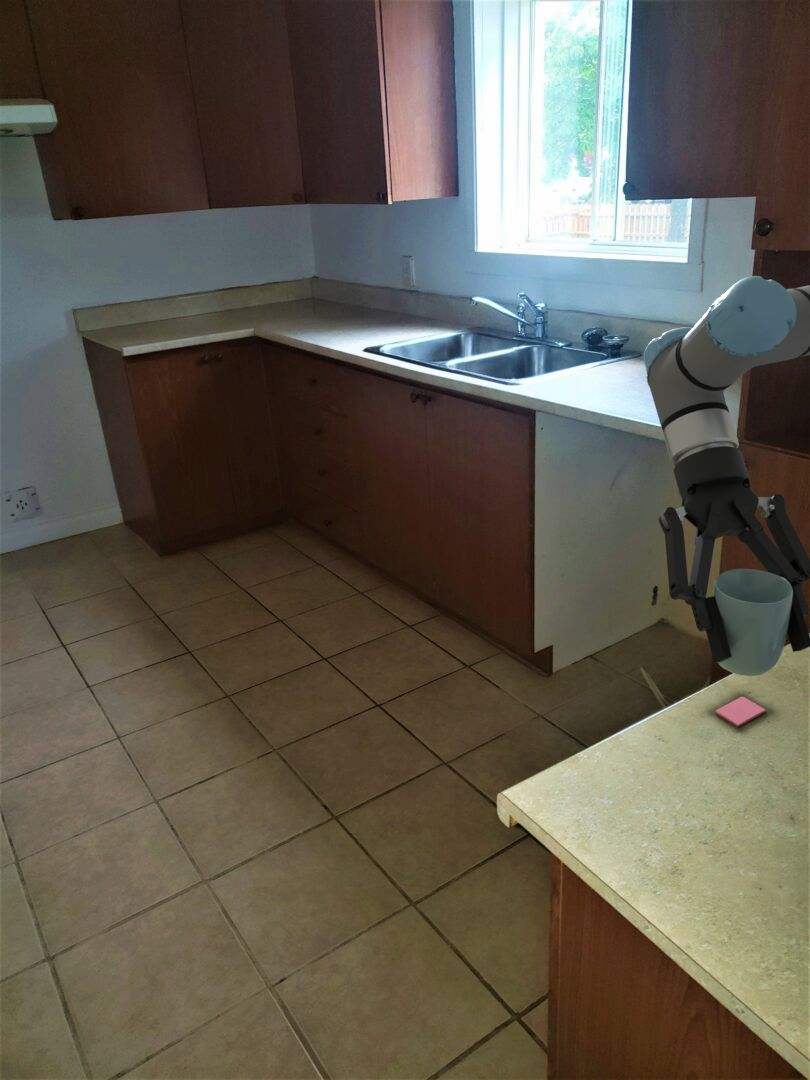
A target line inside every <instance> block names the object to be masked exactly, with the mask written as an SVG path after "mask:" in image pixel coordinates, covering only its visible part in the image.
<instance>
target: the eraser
mask: <svg viewBox="0 0 810 1080" xmlns="http://www.w3.org/2000/svg"><path fill="white" fill-rule="evenodd" d="M766 710H767V709H766V708H763V706H760V705H758V704H757V703H755V702H753V701H751V700H750V699H748V698H746V697H744V696H740V697H738V698H737V699H734V700H733V701H731V702H729V703H728V704H726V705H724V706H722V707H719V708H718V709H716V710H715V711H714V714H716V715H718V716H719V717H721V718H723V719H724V720H726V721H727V722H729V723H731V724H732V725H734V726H735V727H737V728H739V727H740V726H741V727H742V725H744V724H746V723H748V722H749V721H752V720H753V719H755V718H757V717H759V716H761V715H762V714H764V713H766Z"/></svg>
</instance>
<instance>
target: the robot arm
mask: <svg viewBox="0 0 810 1080" xmlns="http://www.w3.org/2000/svg"><path fill="white" fill-rule="evenodd" d="M807 356H810V285H805V286H804V285H803V286H799V287H795V288H794V287H793V288H785V287H784V286H783V285H782V284H780V282H777V281H776V280H773V279H765V278H763V277H762V276H759V275H752V276H746V277H744V278H741V279H740V280H738V281H736V282H735V283H734V284H733V285H732V286H731V287H730V288H729V289H728V290H727V291H725V292H723V293H722V294H721V295H720V297H717V299H715V301H714V302H713V303H712V304H711V306H710V307H709V308H708V310H707V311H706V312H705V313H704V314H703V315H702V316H701V317H700V319H699V320H698V321H697V322H696V323H695V324H694V325H693V327H691V326H683V327H677V328H673V329H669V330H667V331H665V332H663V333H662V335H661V336H659V337H655V338H653V339H652V340H651V341H650V342H649V343H648V344H647V345H646V347H645V350H644V353H643V362H644V367H645V372H646V382H647V386H648V387H649V391H650V393H651V397H652V401H653V403H654V407H655V411H656V413H657V417H658V421H659V424H660V427H661V431H662V435H663V438H664V442H665V445H666V449H667V453H668V456H669V457H668V458H669V460H670V464H671V465H672V466H674V468H673V475H674V479H675V483H676V486H677V490H678V493H679V496H680V497H681V506H679V507H675V508H674V507H672V506H668V507H667V508H665V510H664V511H663V512H662V513H661V514H660V515H659V516H658V523H659V525H660V527H661V531H662V532H663V534H664V540H665V541H664V542H665V552H666V553H665V554H666V565H667V579H668V591H669V597H670V598H671V599H672V600H675V601H677V600H681V601H684V602H685V604H686V605H688V606H690V607H691V610H692V614H693V618H694V622H695V626H696V629H698V631H699V632H705V633H706V637H707V641H708V644H709V648H710V651H711V655H712V660H713V663H714V664H718V663H717V662H722V661H724V660H726V659H728V658H730V657H732V656H731V652H730V648H729V645H728V641H727V638H726V634H725V630H724V627H723V623H722V620H721V616H720V612H719V609H718V605H717V602H716V598H715V596H713V597H712V596H708V597H707V592H708V586H709V580H710V575H711V568H712V560H713V554H714V550H715V549H714V547H715V544H716V543H715V542H716V539H719V538H722V537H737V539H738V540H739V541H740V542H741V543H743V544H745V545H746V546H747V547H748V549H749V550H750V552H752V553H753V555H754V556H755V557H756V559H757V560H758V561H759V562H760V564H761V565H762V566H763V567H764V569H765V571H766V572H770V573H773V574H776V575H778V576H781V577H782V578H784V579H786V580H787V581H788V582H789V583H790V584H791V586H792V589H793V600H792V607H791V614H790V620H789V626H788V631H787V636H788V640H789V642H790V646H791V651H792V652H794V653H797V652H801V651H803V650H805V649H808V648H810V633H809V630H808V626H807V623H806V620H805V617H806V616H808V615H809V607H808V603H807V601H806V597H805V594H804V591H803V583H805V582H807V581H808V580H810V557H809V555H808V552H807V551H806V549H805V547H804V545H803V543H802V542H801V540H800V538H799V535H798V533H797V532H796V529H795V528H794V526H793V524H792V522H791V520H790V518H789V516H788V514H787V510H786V503H785V498H784V496H783V495H782V494H780V493H776V494H774V495H773V496H771V497H768V496H758V494H757V493H756V492H755V491H754V490H753V489H752V487H751V484H750V475H749V472H748V468H747V465H746V462H745V459H744V456H743V452H742V451H741V450H740V449H739V445H740V443H739V438H738V435H737V433H736V429H735V427H734V424H733V420H732V417H731V415H730V409H729V406H728V405H727V401H726V397H725V394H724V393H725V391H726V390H727V389H728V388H729V387H731V386H732V385H733V384H734V383H735V382H736V381H738V380H739V379H740V378H741V377H742V376H743V375H744V374H746V373H747V372H748V371H749V370H751V369H753V368H755V367H759V366H764V365H769V364H774V363H780V362H784V361H789V360H795V359H798V358H801V357H802V358H803V357H807ZM757 510H758V511H759V512H760V516H761V517H762V518H764V519H765V523H766V526H767V528H768V530H769V532H770V534H771V536H772V539H773V540H774V542H775V543H774V542H773V540H772V539H771V538H770V537H769V535H768V534H767V533H766V532H765V530H764V526H763V524H762V523H761V522H760V520H759V519H758V518H757V516H756V515H755V513H756V511H757ZM685 520H687V521H688V522H689V523H690V524H691V525H692V526H694V527H695V528H696V531H695V538H694V546H695V547H694V553H693V558H692V565H691V570H690V575H689V577H688V566H687V565H688V564H687V553H686V544H685V543H686V542H685V532H684V531H685V530H684V526H683V525H684V524H685ZM775 544H776V545H775Z"/></svg>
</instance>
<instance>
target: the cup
mask: <svg viewBox="0 0 810 1080" xmlns="http://www.w3.org/2000/svg"><path fill="white" fill-rule="evenodd" d="M713 596H715V598H716V602H717V605H718V609H719V612H720V616H721V620H722V623H723V627H724V630H725V634H726V638H727V641H728V645H729V648H730V652H731V656H732V657H730V658H728V659H726V660H724V661H722V662H717V663H716V664H718V665H719V666H720V667H721V668H722V669H724V670H726V671H728V672H729V673H731V674H735V675H737V676H745V677H757V676H761V675H765V674H766V673H768V672H770V671H771V670H773V668H774V667H775V666H776V665H777V663H778V661H779V660H780V658H781V656H782V654H783V651H784V648H785V644H786V641H787V636H788V634H787V631H788V626H789V620H790V614H791V607H792V600H793V589H792V586H791V584H790V583H789V582H788V581H787V580H786V579H784V578H782V577H781V576H778V575H776V574H773V573H770V572H768V571H767V570H761V569H754V568H733V569H729V570H726V571H723V572H722V573H720V574H719V575H718V576H717V577H716V578H715V580H714V582H713V586H712V593H711V597H713Z"/></svg>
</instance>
